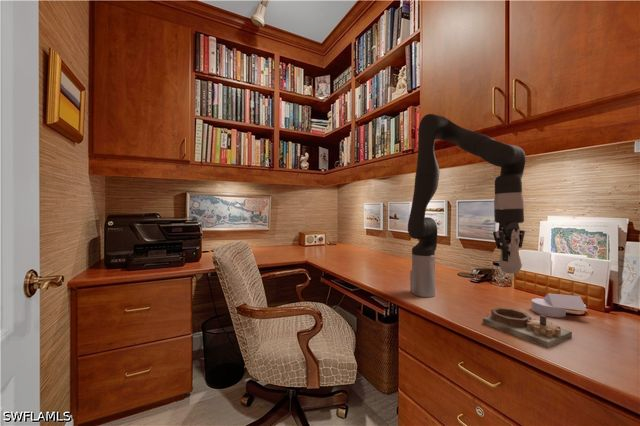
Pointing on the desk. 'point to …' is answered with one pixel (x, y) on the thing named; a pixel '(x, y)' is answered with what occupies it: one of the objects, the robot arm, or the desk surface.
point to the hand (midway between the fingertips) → (510, 262)
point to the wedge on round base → (557, 304)
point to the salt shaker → (511, 259)
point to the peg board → (527, 326)
